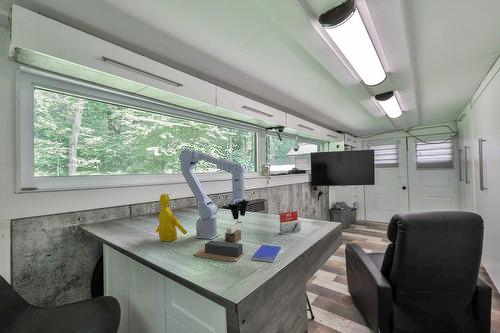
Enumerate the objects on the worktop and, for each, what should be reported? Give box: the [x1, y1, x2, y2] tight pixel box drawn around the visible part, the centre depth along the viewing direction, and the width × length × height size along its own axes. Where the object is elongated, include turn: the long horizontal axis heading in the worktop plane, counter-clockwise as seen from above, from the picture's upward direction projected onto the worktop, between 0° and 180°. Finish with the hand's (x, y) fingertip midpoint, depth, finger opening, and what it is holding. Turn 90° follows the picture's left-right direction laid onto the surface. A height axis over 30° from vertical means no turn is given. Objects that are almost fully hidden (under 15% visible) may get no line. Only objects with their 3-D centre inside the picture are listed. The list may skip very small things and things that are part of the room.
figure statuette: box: [155, 193, 188, 242], centre depth 101 cm, size 18×8×22 cm, turn 73°
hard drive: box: [251, 244, 282, 263], centre depth 80 cm, size 2×8×12 cm
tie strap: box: [226, 219, 245, 234], centre depth 99 cm, size 3×13×3 cm, turn 158°
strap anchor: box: [224, 229, 242, 243], centre depth 97 cm, size 5×6×4 cm
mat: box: [192, 247, 245, 263], centre depth 81 cm, size 18×7×1 cm, turn 68°
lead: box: [204, 240, 244, 258], centre depth 81 cm, size 14×4×4 cm, turn 67°
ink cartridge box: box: [279, 210, 301, 235], centre depth 107 cm, size 2×11×10 cm, turn 115°
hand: (239, 217), depth 101 cm, fingers open, 7 cm apart
